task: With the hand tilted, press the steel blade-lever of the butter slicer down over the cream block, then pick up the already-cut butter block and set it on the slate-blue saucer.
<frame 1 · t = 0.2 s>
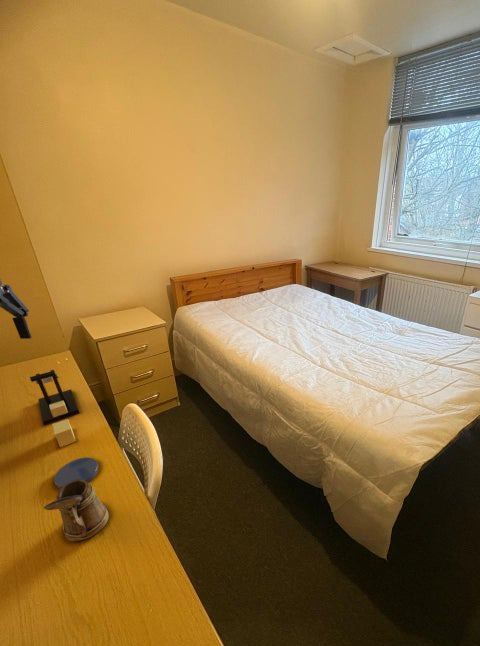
hand: (9, 347, 90), 29 cm above the table, tool pointing down, fingers open, 13 cm apart
wooden mug: (87, 531, 73), on the table
saucer: (77, 474, 87), on the table
butter block: (66, 438, 99), on the table
slicer: (59, 407, 113), on the table
slicer blade: (45, 377, 102), point 15 cm above the table, hinge at 30.0°
cream block: (60, 412, 108), resting on slicer
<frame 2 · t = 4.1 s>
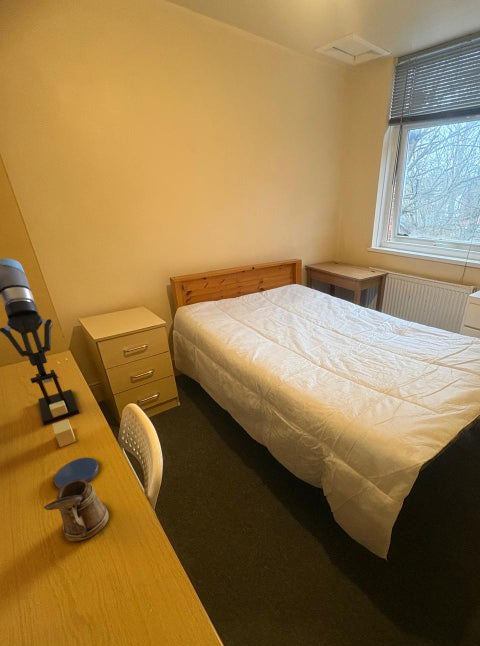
hand: (42, 373, 96), 20 cm above the table, tool tilted 45°, fingers closed
slicer blade: (45, 378, 102), point 15 cm above the table, hinge at 28.2°, touching gripper
everything else where it was.
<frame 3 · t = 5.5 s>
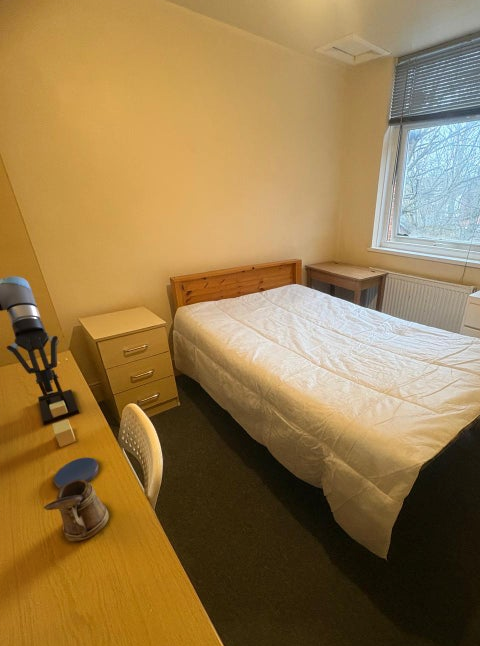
hand: (49, 390, 97), 14 cm above the table, tool tilted 45°, fingers closed
slicer blade: (49, 386, 102), point 12 cm above the table, hinge at 3.4°, touching gripper
everything else where it was.
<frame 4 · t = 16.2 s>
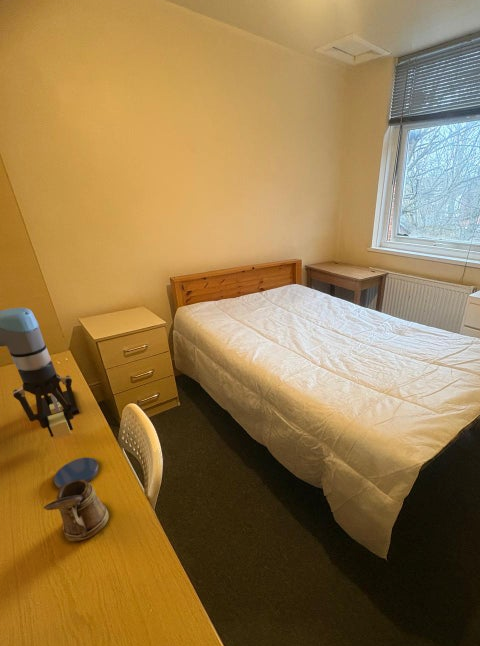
hand: (61, 430, 98), 3 cm above the table, tool pointing down, fingers closed on butter block, 4 cm apart
butter block: (62, 431, 98), point 3 cm above the table, touching gripper
slicer blade: (52, 395, 105), point 8 cm above the table, hinge at -32.9°
everything else where it was.
when the fingers open (1 cm above the table, at t = 22.0 s): butter block stays where it is, resting on saucer.
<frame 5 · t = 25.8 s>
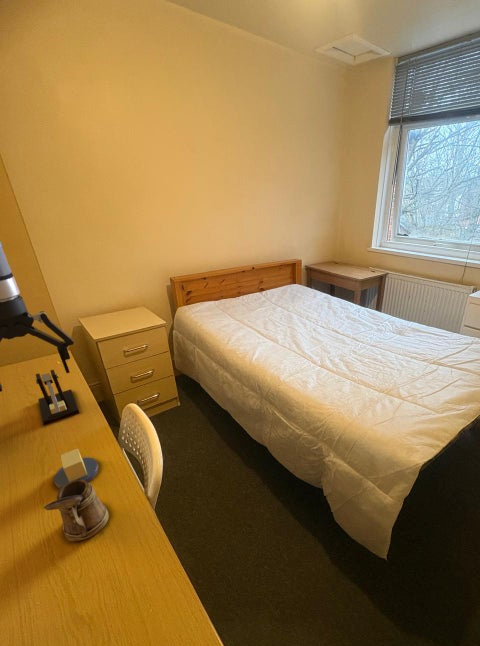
hand: (35, 379, 80), 27 cm above the table, tool pointing down, fingers open, 13 cm apart
butter block: (76, 471, 86), point 1 cm above the table, touching saucer
everything else where it was.
at the end: slicer blade at -33° (first picture: +30°); butter block inside the target area on the saucer (0.2 cm from its centre), point 1.2 cm above the saucer's base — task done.
